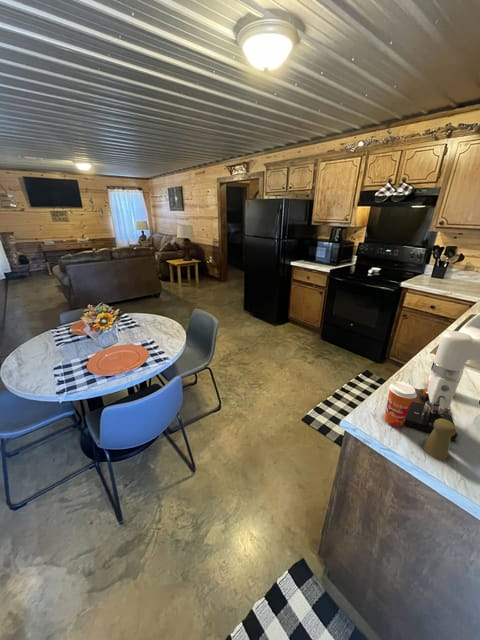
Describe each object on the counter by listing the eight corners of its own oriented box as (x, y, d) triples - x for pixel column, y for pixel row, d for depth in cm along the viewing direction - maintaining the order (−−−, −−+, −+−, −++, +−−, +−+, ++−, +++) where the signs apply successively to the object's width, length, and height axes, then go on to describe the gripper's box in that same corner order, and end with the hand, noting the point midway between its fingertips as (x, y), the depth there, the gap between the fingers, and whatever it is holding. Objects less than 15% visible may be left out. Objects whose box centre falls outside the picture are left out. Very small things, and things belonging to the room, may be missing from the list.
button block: (442, 400, 101) (445, 391, 100) (447, 416, 93) (450, 407, 92) (406, 390, 106) (409, 382, 105) (408, 405, 98) (411, 396, 97)
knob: (420, 410, 91) (424, 398, 89) (435, 415, 89) (440, 402, 87) (422, 419, 87) (426, 406, 85) (438, 423, 86) (443, 410, 84)
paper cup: (377, 419, 91) (386, 386, 86) (386, 410, 96) (395, 377, 90) (401, 433, 85) (412, 398, 80) (410, 422, 90) (421, 388, 85)
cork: (423, 453, 78) (434, 424, 74) (423, 439, 83) (433, 412, 79) (448, 463, 75) (460, 434, 71) (446, 448, 80) (458, 420, 76)
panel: (448, 421, 91) (451, 414, 89) (454, 442, 82) (458, 434, 81) (402, 408, 97) (404, 401, 95) (403, 426, 88) (406, 418, 87)
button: (433, 394, 99) (434, 390, 98) (434, 399, 96) (436, 395, 96) (422, 391, 101) (423, 387, 100) (423, 396, 98) (424, 392, 97)
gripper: (468, 388, 73) (449, 435, 79) (455, 360, 87) (439, 402, 93) (435, 380, 76) (419, 426, 82) (428, 354, 90) (415, 395, 97)
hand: (430, 413), depth 88 cm, fingers open, 9 cm apart
